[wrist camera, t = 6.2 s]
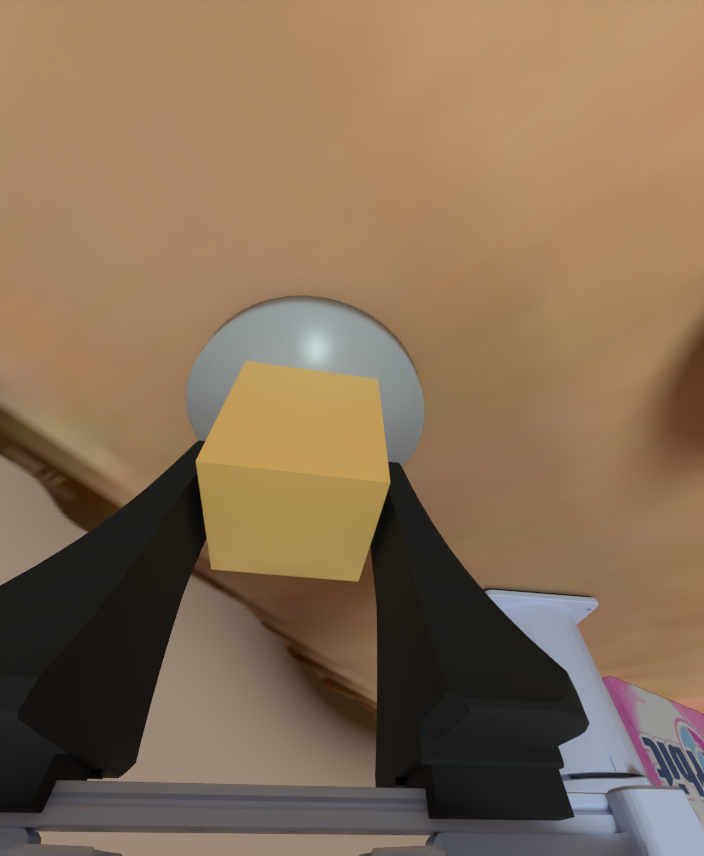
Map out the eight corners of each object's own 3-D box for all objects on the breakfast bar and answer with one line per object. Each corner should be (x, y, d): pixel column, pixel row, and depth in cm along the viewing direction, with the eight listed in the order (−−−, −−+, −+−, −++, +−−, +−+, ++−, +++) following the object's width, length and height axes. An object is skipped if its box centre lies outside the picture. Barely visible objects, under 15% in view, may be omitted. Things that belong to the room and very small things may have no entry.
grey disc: (392, 490, 18) (402, 568, 15) (207, 471, 17) (173, 549, 14) (449, 317, 13) (485, 377, 9) (183, 275, 12) (117, 326, 8)
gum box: (719, 717, 42) (844, 910, 32) (652, 732, 46) (743, 908, 36) (609, 674, 34) (729, 919, 23) (537, 696, 38) (612, 915, 27)
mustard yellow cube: (356, 471, 15) (358, 581, 12) (247, 459, 15) (211, 569, 11) (378, 378, 13) (390, 482, 9) (245, 360, 12) (195, 461, 8)
